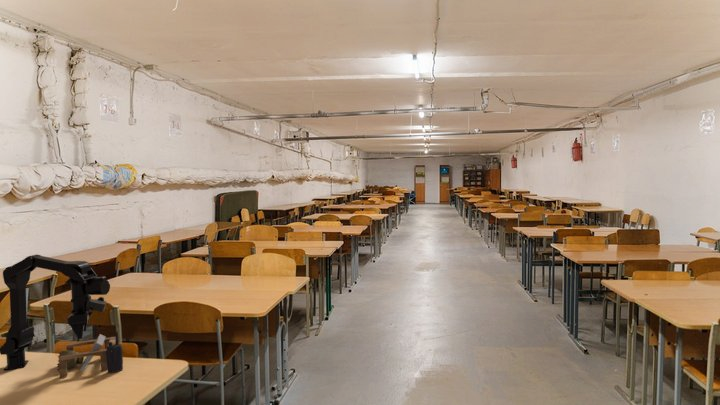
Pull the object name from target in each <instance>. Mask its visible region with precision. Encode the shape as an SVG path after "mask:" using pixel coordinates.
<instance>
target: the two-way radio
mask: <svg viewBox="0 0 720 405" xmlns="http://www.w3.org/2000/svg"><path fill="white" fill-rule="evenodd" d="M114 333H115V334H114V335H115V336H114V337H115V339H116V342H115V344H114V345H112V342H109V346H108V347H107V350H106V358H107V370H106V371H107V373H109V374H111V373H116V372H120V371H122V370H123V369H124V365H123V364H124V359H123V358H124V356H123V354H124V350H123V346H122V344H120V342H119V332H118V330H116V331H115V332H114Z"/></svg>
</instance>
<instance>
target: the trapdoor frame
mask: <svg viewBox="0 0 720 405" xmlns="http://www.w3.org/2000/svg"><path fill="white" fill-rule="evenodd" d="M95 340H96V339H90V340H83V341H75V342H69V343H68V342H67V344H66V350H71V351H75V350H74V348H75V347H81V346H87V345H94V342H95ZM109 342H112V345H114V344H116V339H115V336H111V337H105V340H104V349H100V350H96V351H91V350H90V351H85V352H78V353H77V354H70V355H64V356H60V357H58V360H59V362H58V363H59V368H60V370H59V378H60V379H62V378H63V379H65V378H67V377H68V376H69V375H68V369H67V359H73V358H79V357H84V358H86V357H87V356H92V355H94V356H98V355H100V356H99V357H100V358H99V359H100V371H101V372H104V371H107V358H106V350H107V347H108V346H109Z"/></svg>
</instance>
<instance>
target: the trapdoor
mask: <svg viewBox="0 0 720 405" xmlns="http://www.w3.org/2000/svg"><path fill="white" fill-rule="evenodd" d="M105 338H106V336H105V335H103V334H101V333H100V334H98V336H97V338H96V339H94V340H95V342H94V344H92V348H91V350H90V351H96V350H101V349H102V348H103V345H104V344H105V342H104V340H105ZM94 356H95V355H92V356H86V357H84V360H83V363H82V364H81V366H80V369H79V370H80V371H81V372H84V370H85V369H86V367H87V366H88V364H89V363H90V362H91V360H92V359H93V357H94Z"/></svg>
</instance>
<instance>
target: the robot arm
mask: <svg viewBox="0 0 720 405" xmlns="http://www.w3.org/2000/svg"><path fill="white" fill-rule="evenodd" d="M37 268H39V269H43V270H49V271H51V272H52V271H54V272H58V273H61V274H63V276H65V277H67V278H68V279H67V280H66V281H65V283H64V284H65V285H70V290H71V291H70V294H71V299H70V303H71V307H72V308H71V309H70V310H71V314H70V315H69V316H68V317H67V324H68V326H70V327H71V329H72V330H73V333H75V335H76V337H77V338H78V340H81V339H83V336H84V332H87V328H88V322H89V318H90V317H91V315H92V314H93V312H94V311H95V312H96V311H97V312H99V313H104V311H105V309H106V307H107V304H108V303H107V302H108V301H107V300H105V297H102V296H105V295H107V294H109V292H110V289H111V283H110V281H109V280H107V277H106V276H99V275H98V274H97V273H96V272H95V271H94V270H93V268H92V267H91V265H90V263H89V262H88V261H86V260H73V261H71V260H68V261H67V260H62V259H59V258H52V257H48V256H43V255H40V254H33V255H32V254H31V255H29V256H26V257H25V258H23V259H22V260H20V261H18V262H16V263H15V264H12V265H11V266H7V267H6V268H5V269H3V270H2V278H3V282H4V284H5V285H6V286H7V288H8V290H9V308H10V309H9V310H10V311H9V312H10V327H9V329H8V331H7V332H6V337H5V342H4V344H2V345H1V346H0V355H6V366H5V367H4V368H3V371H6V370H7V371H8V370H14V369H20V368H25V367H26V365H27V364H28V362H29V361H30V360H29V359H27V360H26V351H25V350H26V348H30V346H31V344H32V342H33V340H34V338H35V331H34V330H35V327H34V326H30V324H28V319H27V317H28V315H27V294H26V293H27V291H26V290H27V289H26V287H27V285H28V283H29V281H30V279H31V272H33V271H34V270H36V269H37ZM92 296H99V297H98V298H97V299H96V298H95V299H94V298H92Z"/></svg>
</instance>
